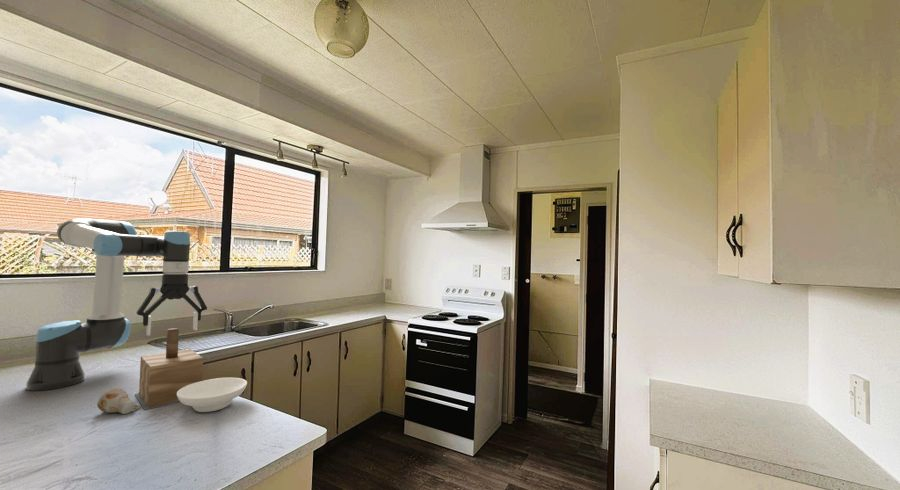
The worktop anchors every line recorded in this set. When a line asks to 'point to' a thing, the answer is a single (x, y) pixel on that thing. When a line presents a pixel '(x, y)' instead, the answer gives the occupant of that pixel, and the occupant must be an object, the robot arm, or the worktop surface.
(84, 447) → the worktop surface
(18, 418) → the worktop surface
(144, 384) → the wooden block with knob
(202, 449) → the worktop surface
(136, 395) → the mat
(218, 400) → the bowl
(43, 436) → the worktop surface
